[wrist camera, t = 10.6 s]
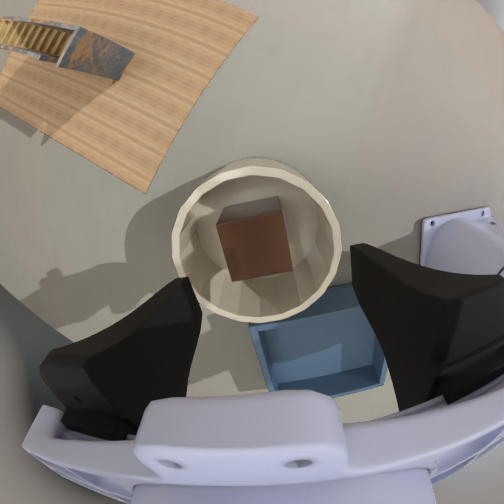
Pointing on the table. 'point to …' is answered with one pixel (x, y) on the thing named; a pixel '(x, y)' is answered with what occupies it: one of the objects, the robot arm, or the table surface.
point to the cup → (298, 233)
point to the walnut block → (254, 239)
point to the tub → (321, 348)
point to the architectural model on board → (115, 73)
